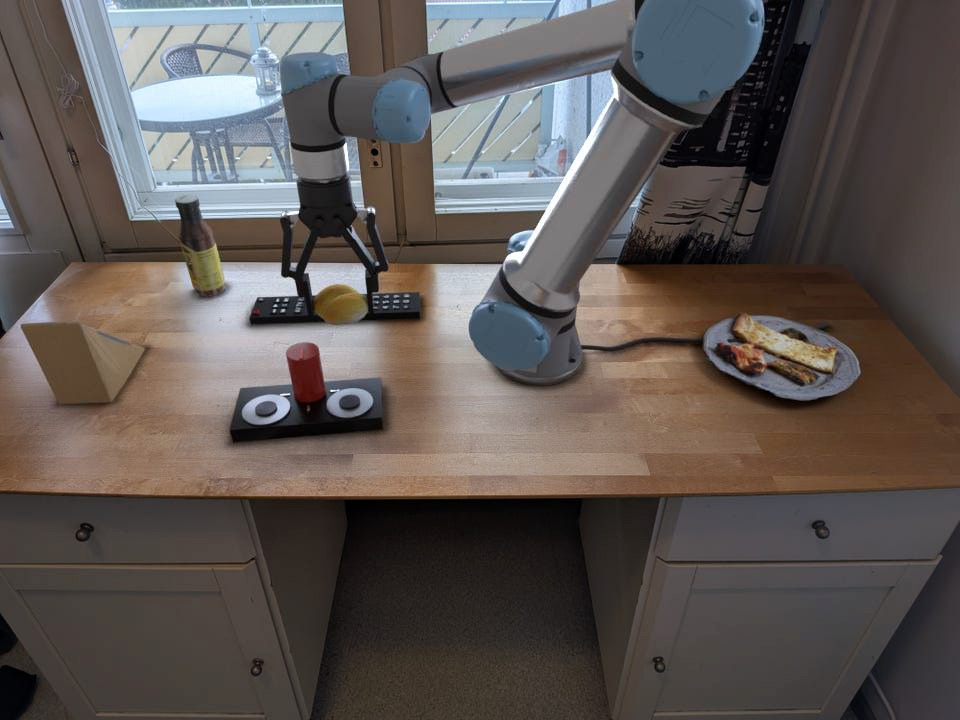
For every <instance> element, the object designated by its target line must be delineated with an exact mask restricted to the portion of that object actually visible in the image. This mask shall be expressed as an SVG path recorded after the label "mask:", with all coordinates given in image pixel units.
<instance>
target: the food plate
mask: <svg viewBox="0 0 960 720" xmlns="http://www.w3.org/2000/svg"><path fill="white" fill-rule="evenodd" d="M814 327H815V326H810V325H809V324H804V323H801V322H799V321H795V320H791V319H786V318H784V317H779V316H773V315H763V314H762V315H752V314H751V315H749V314H748V313H747V312H746V311H745V312H743V311H741V312H739V313H738V314H737V315H736V316H734V317H728V318H725V319H722V320H721V321H717V322H716V323H714V324H712V325H710V326H709V327H708V328H707V329H706V330H705V331H704V333H703V335H702V339H703V343H702V346H701V350H702V351H703V353H704V355H705V356H704V358H706V357H707V360H708V361H709V362H711V361H712V363H713V364H712V365H713V366H714V368H716V369H717V370H718V371H719V370H720V371H722V373H726V374H727V375H729V376H731V377H734V378H735V379H738V380H739V381H741V382H743V383H745V384H746V385H747V386H752V387H755V388H758V389H759V390H765V391H769V393H772V394H773V395H774V396H776V397H777V398H782V399H789V400H793V401H794V400H796V401H811V400H817V399H819V398H824V397H829V396H830V397H831V396H835V395H838V394H839V393H842V392H843V391H846V390H848V389H849V388H850V387H851V386H852V385H853V383H855V382H856V380H857V379H858V378H859V376H860V375H861V374H862V372H861V368H860V363H859V362H860V361H859V360H858V357H857V356H856V354H855V353H854V352H853V350H851V349H850V347H848V346H847V345H846V344H845V343H843V342H841V341H839V340H838V339H837V338H835V337H834V336H833V335H831V334H830V333H828V332H826V331H824V330H823V329H820V330H819V329H817V328H814ZM815 329H816V330H815ZM727 339H741V340H742V342H741V343H738V342H732V343H729V342H728V341H727Z"/></svg>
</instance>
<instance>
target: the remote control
mask: <svg viewBox="0 0 960 720" xmlns="http://www.w3.org/2000/svg"><path fill="white" fill-rule="evenodd" d="M361 294H362V295H364V296H365V297H366V298H367V293H361ZM316 295H317V294H316ZM316 295H315V294H314V295H313V294H312V297H313V301H314V299H315V297H316ZM373 303H374V313H371V314H369V309H368V312H367V314H366V315H365V316H364V317H363V318H362V319H361V320H359V321H358V322H365V321H366V322H368V321H371V322H373V321H393V320H394V321H399V320H421V292H420V291H411V292H410V291H409V292H408V291H407V292H378V293H373ZM249 322H250V326H253V325H255V326H257V325H284V324H285V325H286V324H308V323H309V324H312V323H314V324H315V323H327V322H326V321H325V320H324V319H323V318H321V317H320V316H319V315H318V314H317V313H316V312H315V311H314V316H313V317H312V318H308V312H307V306H306V300H305V297H302V298H299V296H298V295H286V296H285V295H283V296H257V297H256V300H255V302H254V304H253V307H252V309H251V311H250V315H249Z"/></svg>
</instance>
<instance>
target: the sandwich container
mask: <svg viewBox="0 0 960 720" xmlns="http://www.w3.org/2000/svg"><path fill="white" fill-rule="evenodd" d="M20 329H21V332H22V333H23V335H24V337H25V339H26V341H27V344H28V345H29V347H30V349H31V351H32V353H33V355H34V357H35V360H36V361H37V363H38V365H39V367H40V369H41V372H42V373H43V376H44V377H45V379H46V381H47V383H48V385H49V387H50V389H51V391H52V393H53V395H54V397H55V399H56V400H57V402H58V404H59V405H75V404H104V403H105V404H106V403H112V402H113V401H114V400H115V398H116V397H117V395H118V394H119V392H121V389H122V388H123V386H124V385H125V383H126V382H127V381H128V379H129V377H130V375H131V374H132V372H133V371H134V369H135V367H136V366H137V364H138V362H139V360H140V359H141V357H142V355H143V354H144V352H145V350H146V348H145V347H143V346H140V345H138V344H135V343H131V342H129V341H127V340H124V339H121V338H119V337H115V336H113V335H111V334H108V333H105V332H103V331H101V330H98V329H96V328H94V327H92V326H89V325H87V324H84V323H82V322H79V321H44V322H27V323H21V324H20Z"/></svg>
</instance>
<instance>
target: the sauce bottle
mask: <svg viewBox="0 0 960 720" xmlns="http://www.w3.org/2000/svg"><path fill="white" fill-rule="evenodd" d="M174 203H175V207H176V208H177V211H178V214H179V218H180V230H179V236H178V237H179V238H178V240H179V243H180V247H181V251H182V254H183V258H184V262H185V265H186V268H187V271H188V275H189V279H190V282H191V285H192V288H193V290H194V292H195V293H196V294H197V295H198V296H200V297H212V296H217V295H219V294H221V293H223V292H224V290H225V289H226V280H225V279H226V278H225V274H224V271H223V266H222V263H221V262H222V261H221V257H220V255H219V250H218V246H217V243H216V240H215V238H214V237H215V236H214V232H213V230H212V227H211V226H210V224H208V223H207V222H206V221H205V220H204V219H203V215H202V212H201V209H200V200H199V197H198V196H197V195H196V194H183V195H179V196H178V197H176V198H175V199H174Z"/></svg>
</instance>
